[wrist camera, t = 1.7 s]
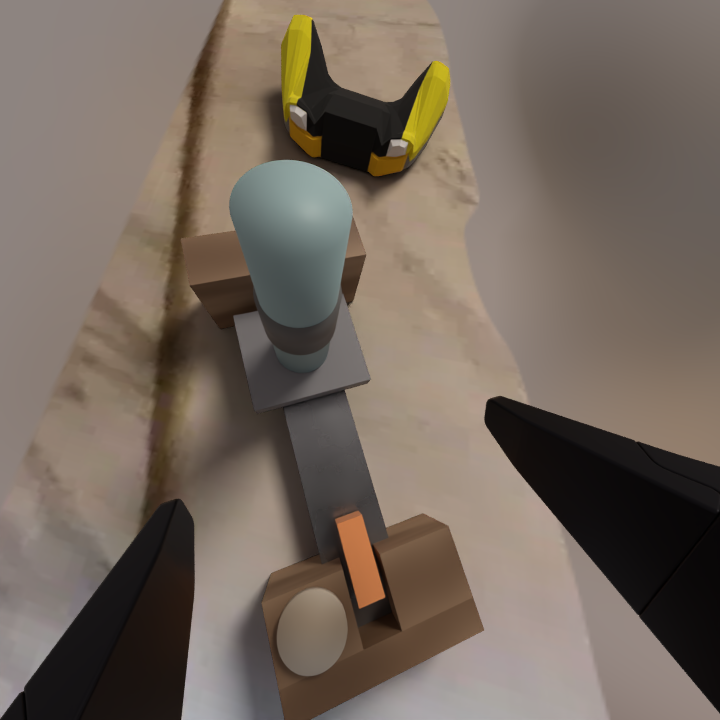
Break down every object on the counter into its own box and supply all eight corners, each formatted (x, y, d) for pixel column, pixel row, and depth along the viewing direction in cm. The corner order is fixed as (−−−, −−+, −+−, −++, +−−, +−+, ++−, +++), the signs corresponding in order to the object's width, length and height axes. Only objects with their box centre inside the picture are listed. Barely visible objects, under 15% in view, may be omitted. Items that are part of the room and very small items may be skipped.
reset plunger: (379, 586, 17) (385, 597, 16) (355, 597, 17) (359, 608, 16) (358, 510, 18) (362, 514, 17) (334, 519, 18) (336, 524, 16)
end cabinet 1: (353, 300, 25) (366, 254, 19) (220, 328, 22) (189, 285, 17) (342, 268, 25) (352, 213, 20) (212, 292, 23) (180, 238, 17)
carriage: (367, 383, 20) (449, 279, 8) (257, 413, 19) (167, 339, 7) (341, 301, 22) (380, 114, 10) (237, 323, 20) (133, 131, 8)
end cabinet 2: (450, 596, 20) (489, 635, 15) (291, 671, 17) (286, 741, 13) (423, 513, 21) (452, 528, 17) (271, 573, 19) (259, 607, 14)
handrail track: (401, 598, 19) (411, 614, 17) (338, 627, 18) (342, 647, 16) (309, 286, 24) (309, 271, 22) (256, 296, 23) (252, 282, 22)
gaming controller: (292, 75, 31) (260, 147, 28) (289, -1, 26) (249, 76, 23) (435, 123, 32) (421, 196, 29) (460, 58, 27) (445, 140, 24)
